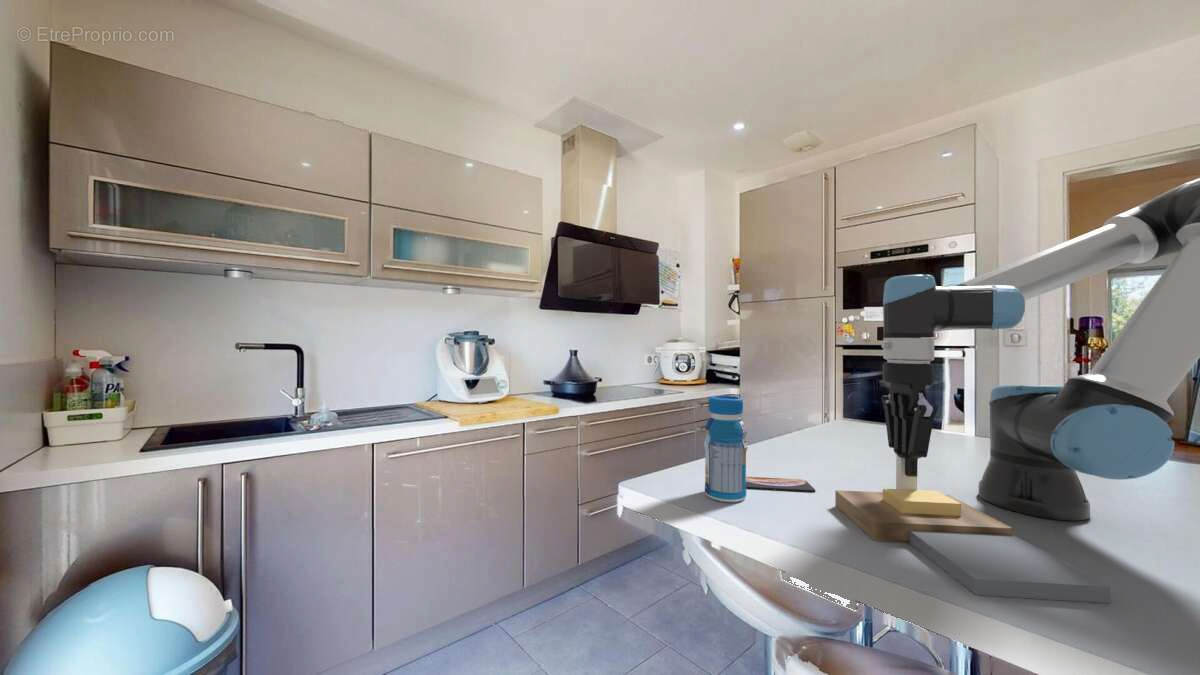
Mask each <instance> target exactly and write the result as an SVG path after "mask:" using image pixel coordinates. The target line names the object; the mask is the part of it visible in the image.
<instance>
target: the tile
mask: <svg viewBox="0 0 1200 675" xmlns="http://www.w3.org/2000/svg"><path fill="white" fill-rule="evenodd" d="M882 492H883V500H884V501H885V502H887V503H888V504H890V505H891V506H893V507H894V508H895V509H897V510H898V511H900V512H901V513H912V514H931V515H951V516H961V503H959V502H957V501H955V500H953V499H951V498H950V497H948V496H946V495H947V494H944V493H942V492H941V491H938V490H929V489H928V490H926V489H925V490H924V489H917V490H905V489H896V488H885V487H883V488H882Z"/></svg>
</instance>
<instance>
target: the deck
mask: <svg viewBox="0 0 1200 675" xmlns="http://www.w3.org/2000/svg"><path fill="white" fill-rule="evenodd" d="M945 495H946V496H948V497H950V498H951V499H953V500H955V501H957V502H959V503H961V516H951V515H931V514H912V513H901V512H900V511H898V510H897V509H895V508H894V507H893V506H891V505H890V504H888V503H887V502H885V501H884V500H883V491H865V490H864V491H863V490H862V491H861V490H859V491H855V490H837V489H836V490H835V494H834V496H835V497H834V498H835V499H834V500H835V505H834V506H835V507H836V508H837V509H838V510H839V511H840V512H841V513H843V515H845V516H846V517H847V518H848V519H850V521H852V522H853V524H855V525H856V526H857V527H858V528H859V529H861V530H862V531H863V532H864V533H865V534H866V535H867V536H868V537H870V539H872V540H873V541H875V542H890V543H908V544H910V531H927V532H948V533H969V534H989V535H1010V536H1014V528H1013V527H1011V526H1010V525H1008V524H1006V523H1004V522H1002V521H1000V520H998V519H996V518H994V517H992V516H990V515H989V514H986V513H985V512H982V511H980V510H979V509H977V508H974V507H973V506H971V505H969V504H967V503H965V502H963V501H962V500H960V499H958V498H956V497H953V496H952V495H950V494H945Z"/></svg>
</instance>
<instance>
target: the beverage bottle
mask: <svg viewBox="0 0 1200 675" xmlns="http://www.w3.org/2000/svg"><path fill="white" fill-rule="evenodd" d="M743 400H744V399H743V398H742V397H739V396H734V395H711V396H709V398H708V403H707V405H708V406H707V407H708V414H709V415H711V416H710V417H709V419H708V420H707V422H706V423H705V427H704V433H705V435H706V436H705V438H704V441H703V445H704V446H703V447H704V450H705V451H704V452H705V453H704V456H705V457H704V460H705V461H704V463H705V467H704V469H705V472H704V473H705V474H704V475H705V476H704V493H705V496H707V497H708V498H710V499H711V500H714V501H718V502H721V503H722V502H723V503H738V502H742V501H744V500H745V499H746V498H747V489H746V477H747V451H748V442H747V440H746V437H747V435H748V433H747V432H748V431H747V428H746V425H745V423H744V422H743V420H742V419H741V417H740V416H742V415H743V413H744V401H743Z"/></svg>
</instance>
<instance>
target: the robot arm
mask: <svg viewBox="0 0 1200 675" xmlns="http://www.w3.org/2000/svg"><path fill="white" fill-rule="evenodd" d="M1171 254H1172V255H1173V254H1176V255H1175V257H1174V258H1173V259H1172V260H1171V262H1170V263H1169V265H1168V266H1167V267H1166V268H1165V270H1164V271H1163V273H1162V274H1161V275H1160V276H1159V278H1158V279H1157V281H1156V282H1155V283H1154V285H1153V286H1152V288H1151V289H1150V290H1149V291H1148V293H1147V294H1146V296H1145V297H1144V298H1143V299H1142V301H1141V302H1140V303H1139V305H1138V306H1137V308H1136V309H1135V310H1134V312H1133V314H1132V315H1131V316H1130V317H1129V318H1128V320H1127V321H1126V322H1125V324H1124V326H1123V327H1122V328H1121V329H1120V331H1119V332H1118V333H1117V335H1116V336H1115V337H1114V339H1113V340H1112V342H1111V343H1110V344H1109V346H1108V347H1107V348H1106V349H1105V351H1104V352H1103V354H1102V355H1101V356H1100V358H1099V359H1098V360H1097V361H1096V363H1095V364H1094V366H1093V367H1092V368H1091V370H1090V371H1089V372H1088V373H1084V374H1080V375H1075V376H1071V377H1070V378H1068V380H1067V381H1066V383H1065V384H1064V385H1063V386H1062V385H1061V386H1060V385H1041V384H1040V385H1039V384H1038V385H1031V384H1027V385H1025V384H1023V385H1017V384H1016V385H1015V384H1014V385H1013V384H1011V385H1007V384H1004V385H997V386H995V387H993V388H992V389H991V392H990V398H989V399H990V400H989V401H988V402H989V403H988V405H989V434H990V435H989V447H990V448H989V454H990V457H989V460H988V462H987V465H986V467H985V470H984V472H983V475H982V477H981V479H980V481H979V482H978V496H979V498H981V499H982V500H983V501H985V502H987V503H990V504H992V505H994V506H997V507H999V508H1002V509H1006V510H1008V511H1012V512H1017V513H1019V514H1025V515H1027V516H1032V517H1038V518H1045V519H1051V520H1058V521H1059V520H1060V521H1061V520H1062V521H1074V522H1075V521H1077V522H1078V521H1084V520H1085V521H1086V520H1089V519H1090V517H1091V505H1090V504H1091V503H1090V501H1089V500H1088V498H1087V496H1086V493H1085V490H1084V487H1083V485H1082V483H1081V480H1080V479H1079V476H1078V474H1077V472H1079V473H1080V474H1081V473H1082V474H1085V475H1089V476H1095V477H1098V478H1103V479H1108V480H1119V481H1121V480H1132V479H1133V480H1134V479H1138V478H1142V477H1146V476H1148V475H1150V474H1152V473H1154V472H1157V471H1158V470H1160V469H1161V468H1162V467H1164V465H1165V464H1167V463H1168V461H1169V460H1170V459H1171V457H1172V455H1173V452H1174V451H1175V450H1174V449H1175V444H1176V443H1175V441H1174V440H1173V439H1172V437H1171V436H1173V434H1174V433H1173V431H1172V429H1171V428H1170V426H1169V424H1168V423H1169V422H1170V421H1171V420H1172V418H1173V417H1174V415H1175V412H1174V410H1173V409H1172V408H1171V405H1170V404H1169V403H1168V399H1169V398H1170V396H1171V395H1172V394H1173V393H1174V391H1175V390H1176V389H1177V388H1178V386H1179V384H1181V382H1182V381H1183V380H1184V378H1185V377H1186V376H1187V375H1188V373H1189V372H1190V371H1191V369H1192V368H1193V367H1194V366H1195V364H1196V363H1197V362H1198V360H1199V359H1200V177H1199V178H1195V179H1193V180H1191V181H1188V182H1185V183H1182V184H1181V185H1178V186H1177V187H1174V188H1172V189H1170V190H1168V191H1166V192H1164V193H1162V194H1159V195H1158V196H1155V197H1154V198H1152V199H1150V200H1148V201H1146V202H1144V203H1141V204H1139V205H1137V206H1134V207H1132V208H1131V209H1128V210H1127V211H1124V212H1121V213H1119V214H1116V215H1113V216H1112V217H1110V218H1108V219H1107V220H1105V222H1104V223H1103V224H1102V227H1099V228H1097V229H1093V230H1091V231H1089V232H1087V233H1084V234H1081V235H1079V236H1077V237H1074V238H1071V239H1069V240H1066V241H1064V242H1061V243H1059V244H1057V245H1054V246H1051V247H1049V248H1047V249H1043V250H1042V251H1039V252H1037V253H1034V254H1032V255H1029V256H1027V257H1023V258H1022V259H1019V260H1016V261H1014V262H1010V263H1009V264H1006V265H1003V266H1001V267H999V268H996V269H994V270H991V271H989V272H986V273H984V274H982V275H979V276H976V277H973V278H971V279H969V280H966V281H963V282H960V283H959V284H956V285H954V286H940V285H939V286H937V283H936V279H935V277H934V276H933V275H931V274H906V275H899V276H898V275H897V276H893V277H890V278H888V279H887V280H886V281H885V283H884V288H883V297H882V298H883V299H882V300H883V301H882V306H883V309H882V311H883V312H882V313H883V317H882V318H883V320H882V321H883V338H882V339H883V340H882V341H883V343H882V344H881V348H882V352H883V353H882V355H883V357H882V358H883V359H884V360H887V361H886V362H884V363H882V381H883V382H884V383H887V384H890V387H889V389H888V390H889V391H888V392H889V393H888V395H881V402H882V406H883V408H884V419H885V425H886V434H887V441H888V443H887V444H888V447H889V448H891V449H892V448H893V452H894V454H895V455H896V457H895V459H896V460H895V462H896V463H895V464H896V466H895V468H896V469H895V473H896V474H895V475H896V476H895V477H896V479H895V489H905V490H918V460H919V459H922V458H927V457H928V453H929V449H930V448H929V447H930V441H931V435H932V430H933V424H934V419H935V417H936V415H937V413H938V410H939V408H938V406H937V405H936V404H930V403H929V402H928V393H927V386H931V385H933V384H934V383H935V366H934V365H933V364H932V363H931V362H933V361H934V360H935V335H936V334H935V332H941V331H954V330H955V331H957V330H958V331H960V330H961V331H962V330H963V331H964V330H965V331H966V330H991V331H994V330H1003V329H1004V330H1005V329H1008V330H1009V329H1013V328H1015V327H1016V326H1018V325H1019V324H1020V323H1021V321H1023V320H1022V319H1023V318H1024V316H1025V315H1024V314H1025V311H1026V302H1025V301H1028V300H1030V299H1032V298H1036V297H1038V296H1041V295H1043V294H1046V293H1049V292H1052V291H1054V290H1057V289H1060V288H1062V287H1065V286H1068V285H1071V284H1073V283H1077V282H1079V281H1082V280H1084V279H1087V278H1089V277H1092V276H1095V275H1098V274H1100V273H1104V272H1106V271H1108V270H1111V269H1114V268H1117V267H1119V266H1122V265H1125V264H1127V263H1128V264H1143V263H1147V262H1149V261H1152V260H1154V259H1158V258H1161V257H1165V256H1168V255H1171Z"/></svg>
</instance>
